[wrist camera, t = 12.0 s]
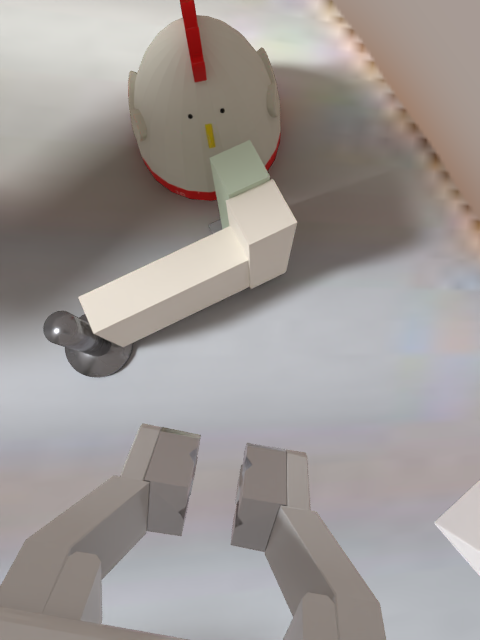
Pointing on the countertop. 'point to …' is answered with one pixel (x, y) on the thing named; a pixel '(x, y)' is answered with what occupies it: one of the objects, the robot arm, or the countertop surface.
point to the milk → (464, 526)
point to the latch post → (235, 177)
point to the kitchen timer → (201, 102)
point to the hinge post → (85, 345)
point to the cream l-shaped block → (198, 270)
